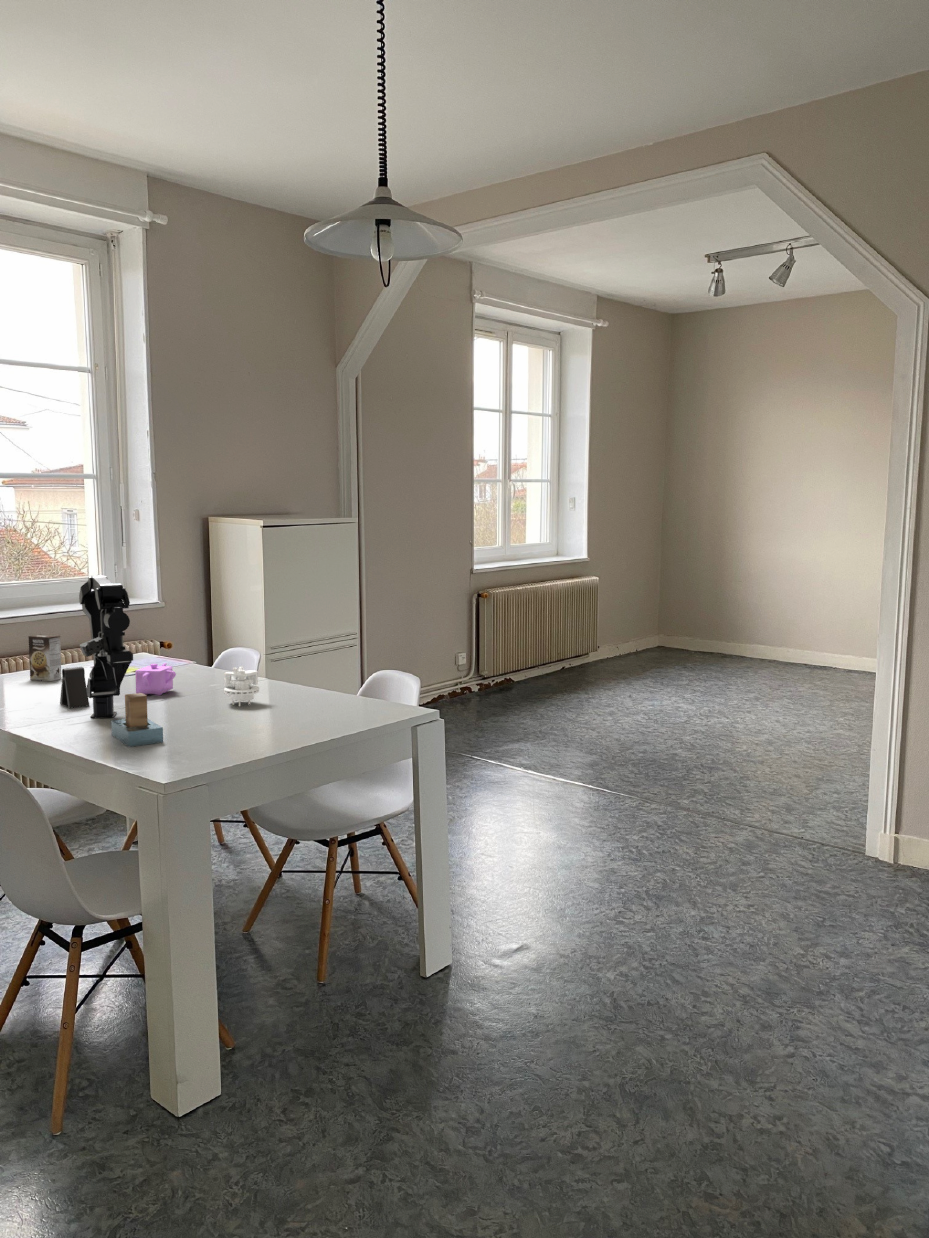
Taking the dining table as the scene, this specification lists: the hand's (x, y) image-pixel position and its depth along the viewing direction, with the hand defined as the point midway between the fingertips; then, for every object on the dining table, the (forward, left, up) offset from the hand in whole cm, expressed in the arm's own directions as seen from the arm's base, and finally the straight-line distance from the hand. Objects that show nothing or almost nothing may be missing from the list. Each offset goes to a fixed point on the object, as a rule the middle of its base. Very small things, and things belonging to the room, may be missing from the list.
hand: (113, 682), depth 262 cm
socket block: (+14, +8, -13) cm, 21 cm away
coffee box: (-83, -38, -13) cm, 92 cm away
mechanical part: (-28, +34, -13) cm, 46 cm away
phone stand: (-34, -18, -13) cm, 41 cm away
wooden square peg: (+14, +8, -13) cm, 21 cm away
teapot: (-51, +5, -13) cm, 53 cm away
